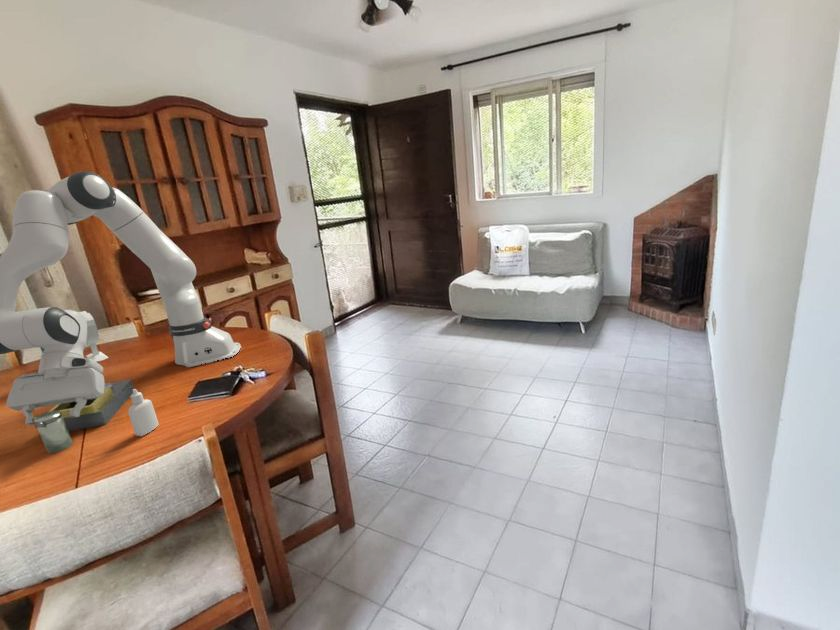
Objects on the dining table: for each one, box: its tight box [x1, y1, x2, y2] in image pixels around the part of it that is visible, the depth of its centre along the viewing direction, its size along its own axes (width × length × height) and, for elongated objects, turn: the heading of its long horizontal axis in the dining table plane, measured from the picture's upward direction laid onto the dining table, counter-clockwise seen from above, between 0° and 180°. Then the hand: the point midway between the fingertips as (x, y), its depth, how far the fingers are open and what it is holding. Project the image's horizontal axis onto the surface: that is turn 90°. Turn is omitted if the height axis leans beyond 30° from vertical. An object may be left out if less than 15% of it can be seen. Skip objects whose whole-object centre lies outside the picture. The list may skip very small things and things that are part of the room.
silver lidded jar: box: [33, 410, 73, 454], centre depth 103 cm, size 5×7×9 cm
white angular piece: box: [78, 310, 109, 363], centre depth 162 cm, size 16×5×18 cm, turn 49°
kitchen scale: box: [47, 379, 135, 432], centre depth 121 cm, size 20×14×6 cm
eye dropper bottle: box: [128, 388, 159, 437], centre depth 108 cm, size 4×6×12 cm
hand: (52, 420), depth 105 cm, fingers open, 8 cm apart
